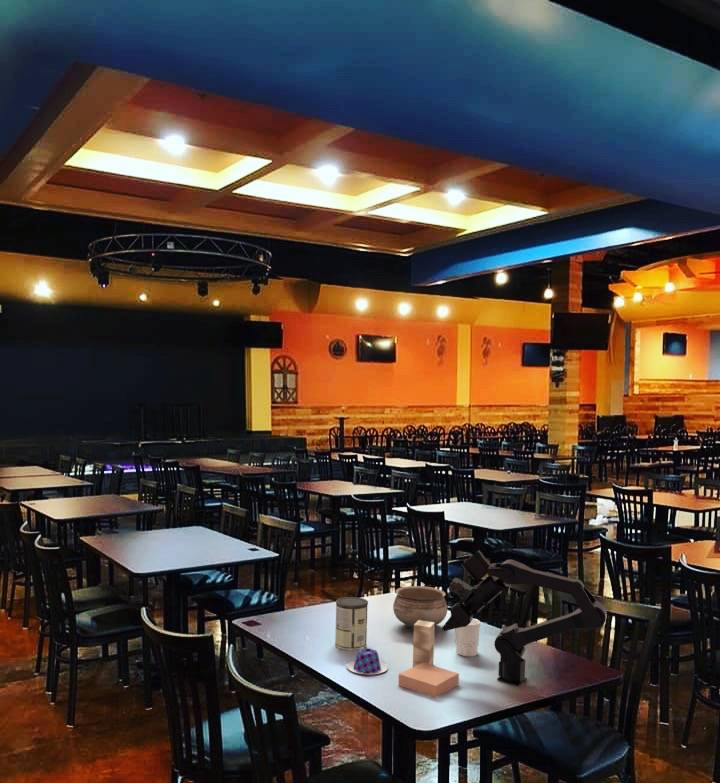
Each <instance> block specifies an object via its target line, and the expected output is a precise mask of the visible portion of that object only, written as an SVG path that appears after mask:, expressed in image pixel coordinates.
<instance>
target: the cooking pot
mask: <svg viewBox="0 0 720 783" xmlns="http://www.w3.org/2000/svg"><path fill="white" fill-rule="evenodd" d="M395 593H396V596H395V598H394V601H393V604H392V605H393V606H392V610H393V613H394V615H395V617H396V619H398V621H399V622H401V623H402V624H404V625H405V626H407V627H409V628H410V629H411V630H414V624H415V623H416V622H417V621H418V620H421V621H428V622H435V625H434V627H436V626H438V625H439V624H441V623H442V622H443V621H444V620H445V618H446V616H447V614H448V605H447V601H446V599H445V598H446V597H445V596H446V592H445V591H444V590H441V589H439V588H435V587H431V586H424V585H422V586H421V585H412V586H411V585H410V586H409V585H408V586H403V587H399V588H397V589H396V590H395Z"/></svg>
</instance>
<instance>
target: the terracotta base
mask: <svg viewBox="0 0 720 783" xmlns="http://www.w3.org/2000/svg"><path fill="white" fill-rule="evenodd" d="M459 676H460V673H458V672H455V671H452V670H448V669H447V668H442V667H438V666H435V665H434V664H433V665H429V664H426V663H421V664H419V665H417V666H414V667H413V666H412V667H410V668H408V669H406V670H404V671H402V672H400V673H398V686H400V687H403V688H407V689H410V690H413V691H416V692H419V693H422V694H425V695H428V696H430V697H434V698H437V697H438V696H441V695H442V694H443V693H445V692H447V691H449V690H452V689H453V688H454V687H456V686H457V685H459V680H460V679H459Z"/></svg>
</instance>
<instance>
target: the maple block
mask: <svg viewBox="0 0 720 783" xmlns="http://www.w3.org/2000/svg"><path fill="white" fill-rule="evenodd" d="M434 625H435V622H428V621H421V620H418V621H417V622H416V623H415V624H414V629H413V642H412V643H413V645H412V667H414V666H417V665H419V664H421V663H426V664H429V665H433V666H434V657H435V656H434V655H435V654H434V650H435V649H434V648H435V626H434Z"/></svg>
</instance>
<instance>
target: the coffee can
mask: <svg viewBox="0 0 720 783" xmlns="http://www.w3.org/2000/svg"><path fill="white" fill-rule="evenodd" d="M368 604H369V601H368V600H367V599H366V598H363V597H357V596H344V597H339V598H337V599H336V600H335V634H334V635H335V636H334V637H335V638H334V639H335V640H334V641H335V642H334V646H335V647H336V648H337V649H339V650H343V651H350V652H352V651H359V650H360V649H364V648H366V647H367V638H368V637H367V636H368V634H367V632H368V631H367V630H368Z"/></svg>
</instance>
